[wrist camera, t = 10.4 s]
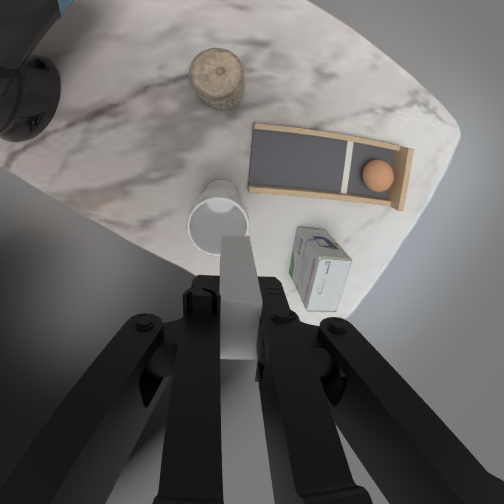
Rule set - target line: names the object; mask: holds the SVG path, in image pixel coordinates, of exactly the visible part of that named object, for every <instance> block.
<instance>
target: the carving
mask: <svg viewBox="0 0 504 504" xmlns="http://www.w3.org/2000/svg"><path fill="white" fill-rule="evenodd" d="M243 76H244V72H243V66H242V64H241V62H240V60H239V59H238V57H237V56H236V55H235V54H233V53H232V52H231V51H229V50H226V49H221V48H211V49H208V50H205V51H203V52H201V53H199V54H198V55H197V56H196V57H195V58H194V59H193V61H192V62H191V65H190V69H189V78H190V82H191V85H192V87H193V89H194V90H195V91H196V93H197V94H198V96H199V97H200V98H201V99H202V100H203V101H204V102H206V103H207V104H208V105H210V106H211V107H214V108H216V109H220V110H225V109H229V108H231V107H233V106H235V105H236V104H237V103H238V102H239V101H240V100H241V98H242V96H243V93H244V82H243Z"/></svg>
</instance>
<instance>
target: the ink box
mask: <svg viewBox="0 0 504 504" xmlns="http://www.w3.org/2000/svg"><path fill="white" fill-rule="evenodd" d="M351 262H352V259H351V258H350V257H349V256H348V255H347V254H346V252H345V251H344V250H343V249H342V248H341V247H340V246H339V245H338V243H337V242H336V241H335V240H334V239H333V238H332V237H331V236H330V234H329V233H328V232H327V231H326V230H324V229H316V228H307V227H298V228H297V233H296V238H295V244H294V250H293V255H292V261H291V266H290V271H289V274H290V276H291V278H292V280H293V282H294V284H295V286H296V289H297V291H298V293H299V295H300V297H301V300H302V302H303V304H304V306H305V309H306V311H307V312H336V311H337V308H338V305H339V302H340V299H341V296H342V293H343V289H344V286H345V283H346V280H347V276H348V273H349V269H350V266H351Z"/></svg>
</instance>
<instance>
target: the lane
mask: <svg viewBox="0 0 504 504" xmlns="http://www.w3.org/2000/svg"><path fill="white" fill-rule="evenodd" d="M413 150H414V149H411V148H406V147H401V146H397V145H392V144H388V143H383V142H379V141H374V140H369V139H364V138H359V137H353V136H348V135H342V134H336V133H330V132H324V131H317V130H310V129H303V128H295V127H286V126H277V125H267V124H256V123H254V125H253V136H252V148H251V160H250V172H249V184H248V191H249V193H263V194H277V195H290V196H301V197H312V198H323V199H333V200H342V201H352V202H360V203H369V204H377V205H385V206H391V207H392V208H394V209H396V210H398V211H403V209H404V204H405V199H406V193H407V188H408V182H409V176H410V170H411V164H412V157H413ZM373 160H382V161H385V162H386V163H388V164H389V165H390V166H391V168H392V170H393V173H394V180H393V183H392V185H391V186H390V187H389V188H388V189H387V190H385V191H382V192H376V191H373V190H371V189H369V188H368V187H367V186H366V185H365V183H364V181H363V169H364V167H365V166H366V164H367V163H369V162H370V161H373Z"/></svg>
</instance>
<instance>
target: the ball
mask: <svg viewBox="0 0 504 504" xmlns="http://www.w3.org/2000/svg"><path fill="white" fill-rule="evenodd" d="M393 180H394V173H393V170H392V168H391V166H390V165H389V164H388V163H386V162H385V161H382V160H373V161H370V162H369V163H367V164H366V166H365V167H364V169H363V181H364V183H365V185H366V186H367V187H368V188H369V189H371V190H373V191H376V192H382V191H385V190H387V189H388V188H389V187H390V186H391V185H392V183H393Z"/></svg>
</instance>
